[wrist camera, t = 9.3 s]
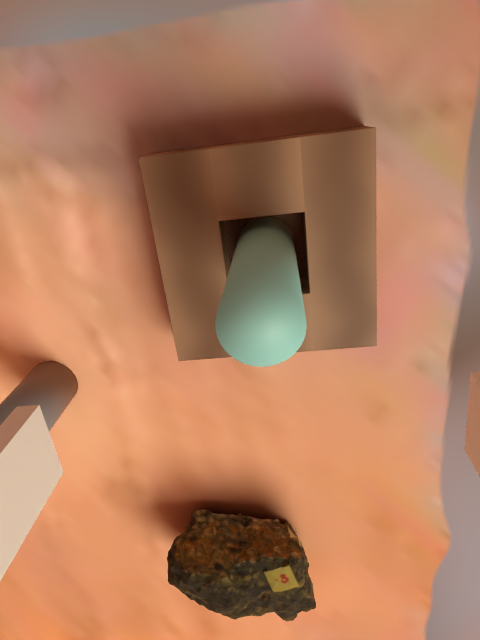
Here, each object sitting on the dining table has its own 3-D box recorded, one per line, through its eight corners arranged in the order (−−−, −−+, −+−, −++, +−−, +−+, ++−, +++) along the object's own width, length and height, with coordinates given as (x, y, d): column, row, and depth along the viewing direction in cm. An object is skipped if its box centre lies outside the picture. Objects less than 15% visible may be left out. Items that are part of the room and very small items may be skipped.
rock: (183, 655, 40) (161, 614, 35) (178, 554, 47) (159, 509, 43) (322, 619, 40) (317, 574, 36) (295, 525, 48) (288, 478, 43)
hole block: (186, 339, 36) (178, 360, 33) (152, 153, 31) (138, 157, 28) (367, 324, 35) (376, 345, 32) (364, 126, 29) (375, 127, 26)
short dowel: (39, 403, 40) (-6, 458, 34) (25, 363, 38) (-25, 412, 32) (83, 400, 40) (46, 455, 33) (70, 359, 38) (29, 409, 32)
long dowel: (241, 273, 34) (221, 369, 21) (234, 219, 32) (209, 288, 20) (295, 268, 34) (309, 363, 21) (291, 213, 32) (303, 279, 19)
